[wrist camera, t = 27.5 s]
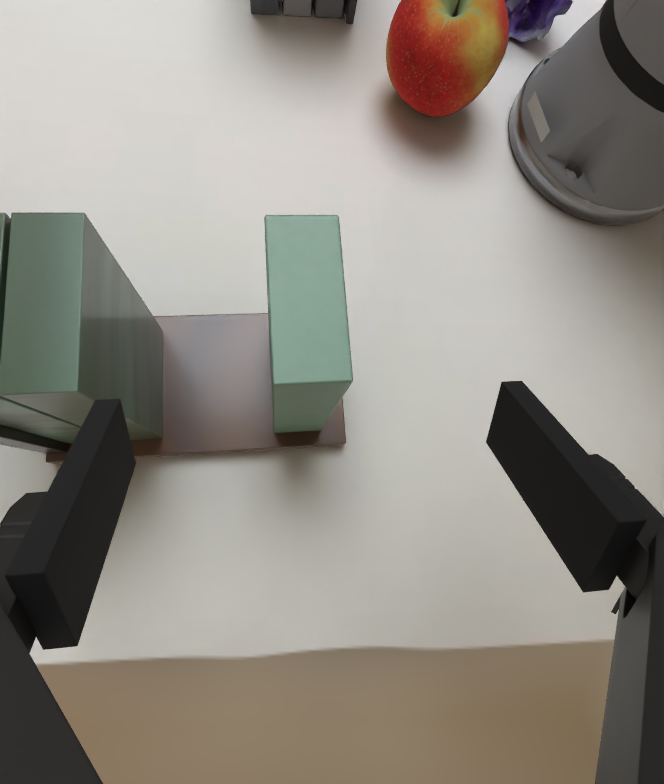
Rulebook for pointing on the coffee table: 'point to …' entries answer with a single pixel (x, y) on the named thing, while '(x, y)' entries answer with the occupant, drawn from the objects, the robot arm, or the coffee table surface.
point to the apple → (445, 51)
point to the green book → (306, 320)
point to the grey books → (307, 8)
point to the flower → (533, 17)
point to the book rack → (124, 355)
